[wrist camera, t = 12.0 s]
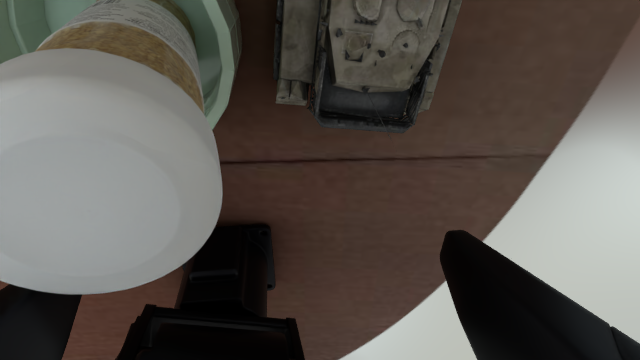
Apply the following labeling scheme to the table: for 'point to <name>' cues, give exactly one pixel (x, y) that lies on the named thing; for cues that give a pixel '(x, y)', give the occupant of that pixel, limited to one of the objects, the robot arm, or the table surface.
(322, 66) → the toy tank
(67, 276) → the sprinkles bottle
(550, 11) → the table surface
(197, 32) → the dish
